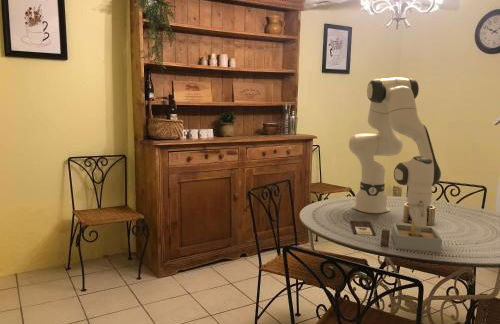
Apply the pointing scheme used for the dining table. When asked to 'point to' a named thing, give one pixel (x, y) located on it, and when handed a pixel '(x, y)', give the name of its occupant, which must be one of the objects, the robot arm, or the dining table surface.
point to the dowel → (413, 230)
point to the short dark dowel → (385, 237)
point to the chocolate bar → (362, 228)
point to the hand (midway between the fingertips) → (415, 232)
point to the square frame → (416, 238)
